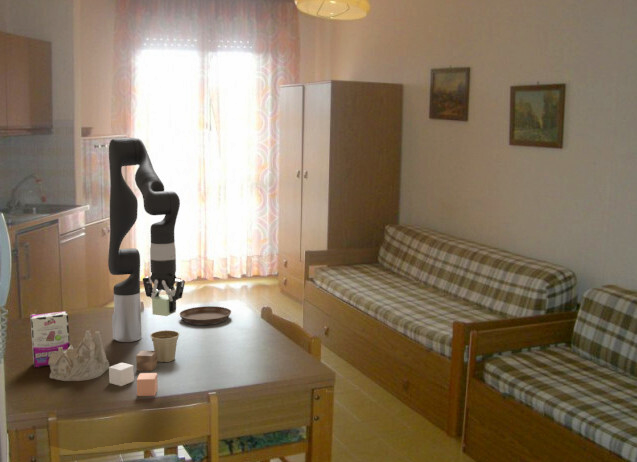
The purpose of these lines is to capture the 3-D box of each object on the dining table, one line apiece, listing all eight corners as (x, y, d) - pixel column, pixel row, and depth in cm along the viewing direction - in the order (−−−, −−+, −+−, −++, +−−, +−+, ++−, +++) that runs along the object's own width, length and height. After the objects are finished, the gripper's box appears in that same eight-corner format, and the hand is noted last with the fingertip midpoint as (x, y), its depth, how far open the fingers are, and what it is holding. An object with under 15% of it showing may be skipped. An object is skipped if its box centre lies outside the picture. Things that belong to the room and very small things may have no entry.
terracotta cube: (137, 396, 189) (136, 379, 188) (140, 389, 194) (139, 373, 193) (155, 395, 190) (154, 379, 189) (157, 389, 195) (157, 372, 194)
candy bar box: (69, 358, 220) (66, 310, 217) (71, 363, 215) (68, 314, 213) (32, 363, 215) (29, 314, 212) (33, 368, 210) (31, 318, 208)
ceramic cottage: (116, 364, 214) (111, 320, 212) (89, 384, 198) (83, 337, 196) (73, 363, 217) (67, 319, 215) (43, 383, 202) (36, 336, 199)
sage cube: (152, 314, 202) (152, 298, 201) (161, 310, 206) (161, 294, 206) (166, 316, 200) (166, 300, 199) (175, 312, 205) (175, 296, 204)
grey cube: (109, 383, 199) (108, 367, 198) (122, 378, 203) (121, 362, 202) (121, 386, 196) (120, 370, 196) (133, 381, 201) (133, 365, 200)
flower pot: (185, 356, 223) (184, 331, 221) (170, 365, 214) (169, 340, 213) (161, 353, 226) (160, 329, 224) (145, 362, 217) (144, 337, 216)
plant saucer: (169, 319, 268) (169, 311, 268) (212, 310, 282) (212, 303, 282) (197, 330, 253) (197, 322, 253) (241, 320, 267) (241, 312, 267)
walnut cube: (136, 370, 210) (136, 355, 209) (142, 365, 215) (141, 350, 214) (151, 371, 209) (151, 356, 208) (157, 365, 214) (156, 350, 213)
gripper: (135, 257, 200) (137, 312, 202) (176, 261, 195) (177, 317, 197) (150, 253, 206) (151, 306, 209) (190, 256, 202) (191, 311, 204)
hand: (164, 311), depth 203 cm, fingers closed on sage cube, 5 cm apart
